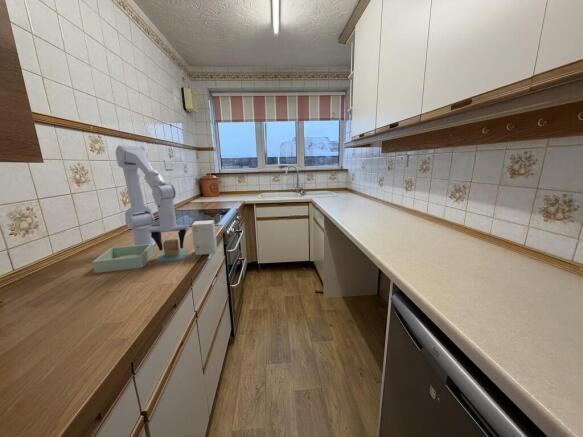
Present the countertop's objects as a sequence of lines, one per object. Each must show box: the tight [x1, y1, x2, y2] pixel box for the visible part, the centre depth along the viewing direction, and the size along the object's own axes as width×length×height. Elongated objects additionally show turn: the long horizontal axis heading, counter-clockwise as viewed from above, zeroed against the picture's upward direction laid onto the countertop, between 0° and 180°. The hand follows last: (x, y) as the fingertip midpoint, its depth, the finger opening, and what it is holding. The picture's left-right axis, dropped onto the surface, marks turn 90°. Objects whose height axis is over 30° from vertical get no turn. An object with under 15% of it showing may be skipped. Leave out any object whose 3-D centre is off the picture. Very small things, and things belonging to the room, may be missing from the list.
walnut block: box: [162, 238, 180, 258], centre depth 98 cm, size 4×4×6 cm
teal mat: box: [155, 249, 188, 263], centre depth 98 cm, size 10×10×1 cm
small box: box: [191, 219, 218, 256], centre depth 101 cm, size 8×6×13 cm
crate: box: [91, 244, 155, 274], centre depth 93 cm, size 15×15×4 cm
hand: (171, 248), depth 98 cm, fingers open, 7 cm apart
